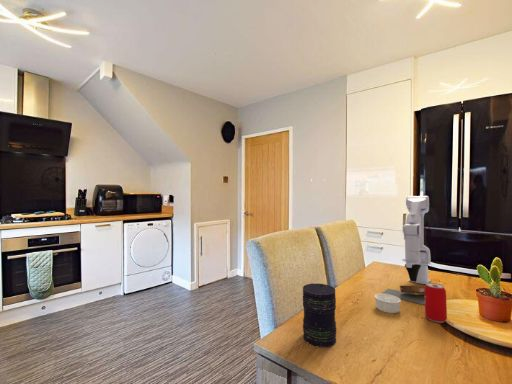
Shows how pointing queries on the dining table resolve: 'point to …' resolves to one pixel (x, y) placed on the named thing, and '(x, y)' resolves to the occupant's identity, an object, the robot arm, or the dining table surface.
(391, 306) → the ramekin
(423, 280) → the robot arm
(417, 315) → the dining table surface
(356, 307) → the dining table surface
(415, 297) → the mat
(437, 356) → the dining table surface
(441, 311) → the beverage can
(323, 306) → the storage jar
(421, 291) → the tin
